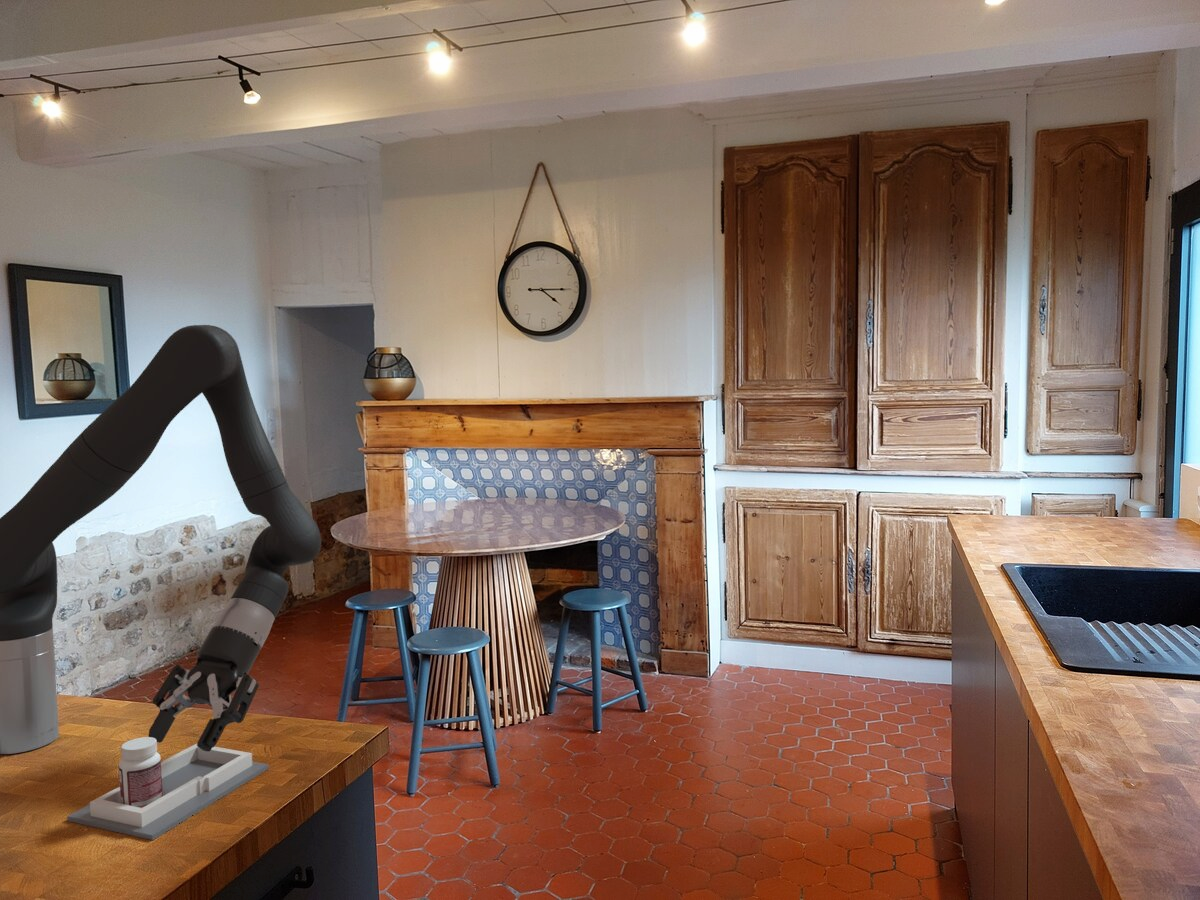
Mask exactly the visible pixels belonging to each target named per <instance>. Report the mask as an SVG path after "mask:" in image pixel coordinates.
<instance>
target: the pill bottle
mask: <svg viewBox="0 0 1200 900" xmlns="http://www.w3.org/2000/svg"><path fill="white" fill-rule="evenodd" d="M120 749H121V750H120V753H121V760H120V761H119V762H118V763H119V764H118V774H119V787H120V794H121V804H125V805H130V806H134V807H139V808H143V807H145V806H147V805H148V804H150V803H152V802H154V801H155V800H157V799H159V798H161V797H163V791H162V773H161V762H162V758H161V755H160V753H159V752H157V751H158V742H157V740H156V739H155V738H152V737H148V736H144V737H138V738H133V739H130V740H128V741H126V742H124V743H123V744H122V745H121V747H120Z"/></svg>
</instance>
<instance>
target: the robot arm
mask: <svg viewBox="0 0 1200 900" xmlns="http://www.w3.org/2000/svg"><path fill="white" fill-rule="evenodd" d="M241 356H242V355H241V353H240V348H239V345H238V343H237V342H236V339H234V337H233V336H232V334H230V333H229V332H228V331H226V330H224V329H223V328H221V327H218V326H216V325H211V324H194V325H187V326H184V327H181V328H179V329H178V330H176V331H175V332H173V333H172V334H171V335H170V336H169V337H168V338H167V339H166V340H165V342H164V343H163V344H162V345H161V346H160V348H159V350H157V352H156V353H155V355H154V356H153V358H152V359H151V361H149V363H148V365H147V366H146V367H145V369H143V371H142V372H141V374H140V375H139V376H138V377H137V379H136V380H135V381H134V382H133V384H131V386H129V388H127V389H126V391H124V392H123V393H122V394H121V395H120V396H119V397H118V398H116V400H114V401H113V402H111V404H109V406H108V407H107V408H106V409H105V410H104V411H102V412H101V414H99V415H98V416H97V417H96V418H95V419H94V420H93V421H92V422H91V423H90V424H88V425H87V427H86V428H84V430H82V431H81V433H80V434H79V435H78V436H77V437H76V438H75V439H74V440H73V441H72V442H71V443H70V444H69V445H68V446H67V448H66V449H65V450H64V451H63V452H62V453H61V454H60V456H59V457H57V459H56V460H55V461H54V462H53V463H52V465H50V466H49V467H48V469H47V470H46V471H45V472H44V473H43V474H42V475H41V476H40V477H39V478H38V480H36V482H35V483H34V484H33V485H32V487H31V488H30V489H28V491H27V493H26V494H25V495H23V497H22V498H21V499H20V500H19V501H18V502H17V503H16V504H15V505H14V506H13V507H12V508H11V509H9V510H8V511H7V512H6V513H4V514H3V515H2V516H1V517H0V755H11V754H18V753H19V754H20V753H24V752H25V753H26V752H29V751H33V750H36V749H39V748H42V747H44V746H47V745H49V744H50V743H53V742H54V741H56V739H58V737H59V736H60V727H59V726H60V725H59V708H58V706H59V705H58V692H57V691H58V690H57V689H58V688H57V678H56V677H57V675H56V673H57V672H56V659H55V658H56V657H55V645H54V644H55V643H54V640H55V639H54V627H53V626H54V625H53V618H54V613H55V612H56V608H57V604H58V564H57V563H58V561H57V554H56V548H55V545H54V543H53V542H55V540H56V539H57V538H58V537H59V536H60V535H61V534H62V533H63V532H65V531H66V530H67V529H69V528H70V527H71V526H73V525H74V524H75V523H77V522H78V521H79V520H81V519H83V518H84V517H85V516H87V515H88V514H90V513H91V512H93V511H95V509H96V508H98V507H99V506H101V505H103V504H104V503H105V502H107V500H109V499H111V498H112V497H113V496H114V495H115V494H116V493H117V492H118V491H120V490H121V489H122V488H123V487H124V486H125V484H126V483H127V482H128V481H129V480H131V478H132V477H133V476H135V474H136V473H137V472H138V471H139V470H140V469H141V468H142V466H143V465H144V464H145V463H146V461H148V460H149V458H150V456H151V455H152V454H153V452H154V450H155V449H156V447H157V446H158V443H159V442H160V440H161V438H162V437H163V435H164V433H165V432H166V429H167V428H168V426H170V424H171V423H172V421H173V420H174V419H175V418H176V417H177V416H178V415H179V414H180V413H181V412H182V411H183V410H184V409H185V408H186V407H188V405H190V403H191V402H193V401H194V400H195V399H196V398H197V397H199V396H200V395H201V394H203V397H204V398H205V399H206V402H207V404H208V405H209V407H210V409H211V412H212V414H213V416H214V419H215V421H216V423H217V427H218V431H219V435H220V439H221V444H222V448H223V449H222V450H223V453H224V457H225V460H226V461H225V462H226V464H227V467H228V470H229V473H230V476H231V477H232V480H233V482H234V485H235V487H236V489H237V491H238V493H239V496H240V497H241V499H242V503H243V504H244V506H245V507H246V509H247V511H248V512H249V513H251V514H252V515H255V516H261V517H263V518H264V519H265V520H266V521H267V522H268V524H269V526H267V527H265V528H264V529H263V530H262V531H261V532H260V533H259V534H258V536H257V537H256V538H255V541H254V542H253V544H252V546H251V550H250V553H249V555H248V559H247V561H246V566H245V569H244V574H243V577H242V579H241V580H240V582H239V583H238V585H237V587H236V588H235V589H234V592H233V593H232V596H231V597H230V599H229V601H228V603H227V604H226V605H225V606H224V607H223V608H222V610H221V612H220V613H219V615H218V617H217V618H216V620H215V622H214V623H213V625H212V627H211V629H210V630H209V632H208V634H207V636H206V637H205V639H204V641H203V643H202V644H201V646H200V648H199V649H198V651H197V653H196V655H197V656H196V657H197V661H196V664H195V665H194V666H193V667H192V668H191V669H185V668H184V667H182V666H181V665H180V664H176V665H175V666H174V667H173V668H172V669H171V671H170V672H169V674H168V675H167V677H166V678H165V680H164V682H163V683H162V684H161V687H160V688H159V690H158V691H157V692H156V694H155V696H154V698H153V699H152V704H154V705H155V706H156V707H158V708H159V712H158V714H157V715H156V718H155V719H154V721H153V723H152V725H151V726H150V728H149V730H148V735H147V737H152V738H155V739H156V740H157V743H162V742H163V741H164V739H165V738H166V736H167V733H168V732H169V731H170V729H171V727H172V725H173V723H174V722H175V720H176V716H178V714H180V713H181V712H182V711H184V710H185V709H189V708H192V707H193V706H195V705H197V704H198V705H208V706H211V707H212V717H213V719H212V718H210V719H209V720H208V722H207V724H206V726H205V728H204V729H203V732H202V733H201V735H200V737H199V739H198V741H197V742H196V744H197V746H198V747H199V748H200V749H202V750H203V751H208V752H209V751H210V750H211V749H212V748H213V747H216V745H217V743H218V742H219V739H220V738H221V736H222V734H223V732H224V730H225V728H226V726H229V725H230V724H233V723H236V724H240V723H243V721H244V719H245V717H246V715H247V713H248V710H249V708H250V706H251V704H252V702H253V700H254V697H255V696H256V694H257V690H258V688H259V686H260V684H259V682H257V680H256V679H254V678H253V677H252V676H251V675H250V674H249V672H250V671H251V669H252V667H253V665H254V663H255V661H256V659H257V658H258V655H259V654H260V652H261V649H262V648H263V646H264V644H265V642H266V640H267V638H268V637H269V634H270V632H271V629H272V627H273V624H274V621H275V620H276V617H277V615H278V614H279V612H280V610H281V608H282V606H283V604H284V602H285V600H286V599H287V596H288V594H289V589H290V588H289V583H288V582H287V580H286V579H285V578H284V575H285V572H286V571H287V570H288V568H289V567H292V566H298V565H303V564H307V563H310V562H312V561H313V560H315V559H316V557H317V556H318V555H319V553H320V551H321V547H322V536H321V532H320V529H319V527H318V525H317V523H316V521H315V519H314V518H313V517H312V515H311V514H310V513H309V511H308V510H307V509H306V508H305V506H304V505H303V504H302V502H301V501H300V499H299V498H298V497H297V496H296V495H295V494H294V493H293V491H292V490H291V488H290V486H289V484H288V481H287V479H286V477H285V475H284V472H283V470H282V467H281V466H280V463H279V461H278V459H277V457H276V453H275V452H274V449H273V448H272V446H271V443H270V440H269V438H268V436H267V434H266V432H265V429H264V427H263V425H262V422H261V419H260V417H259V414H258V412H257V409H256V405H255V403H254V400H253V397H252V394H251V391H250V387H249V384H248V380H247V376H246V372H245V369H244V364H243V360H242V357H241ZM186 693H187V695H185V694H186ZM233 693H234V695H233V697H232V694H233ZM167 694H168V695H167ZM166 695H167V696H166ZM165 697H166V698H165Z"/></svg>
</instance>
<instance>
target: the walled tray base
mask: <svg viewBox="0 0 1200 900" xmlns="http://www.w3.org/2000/svg"><path fill="white" fill-rule="evenodd" d="M269 766H270V764H267V763H264V762H257V761H253V753H252V752H247V751H242V750H235V749H232V748H231V749H230V748H224V747H218V746H214V747H213V748H212V749H211V750H210V751H209V752H208V751H203V750H202V749H200V748H199V747H198V746H197V743H195V744H193V745H191V746H189V747H187V748H185V749H183V750H182V751H179V752H178V753H176V754H174V755H172V756H170V757H167V758H166V759H164V760H161V773H162V791H163V797H161V798H159V799H157V800H155V801H154V802H152V803H150V804H148V805H147V806H145V807H143V808H139V807H134V806H130V805H125V804H121V794H120V786H118V787H116V788H114V789H112V790H110V791H108V792H107V793H105V794H103V795H101V796H99V797H97V798H96V799H93V800H91V801H89V804H87V805H86V806H84V807H82V808H80V809H78V810H76V811H74V812H73V813H70V814H69V815H66V817H67V821H68V822H71V823H76V824H81V825H84V826H88V827H93V828H98V829H100V830H101V829H102V830H106V831H111V832H115V833H120V834H122V835H123V834H124V835H127V836H133V837H138V838H141V839H146V840H149V841H154V840H156V839H157V838H159V837H160V836H162V835H164V834H165V833H167V832H168V830H169V831H171V830H172V829H173V828H176V827H177V826H178V825H180V824H182V823H183V822H185V821H186V820H188V819H189V817H190V818H192V817H193V816H194V815H196V814H198V813H200V812H201V811H202V810H204V809H206V808H207V807H209V806H211V805H213V804H214V803H215V802H217V801H218V799H219V800H220V799H222V798H224V797H225V796H227V795H228V794H230V793H232V792H234V791H235V790H237V789H238V788H241V786H243V785H244V784H246V783H248V782H249V781H251V780H253V779H254V778H257V777H258V776H259V775H261V774H262V773H265V771H268V770H269V769H270V767H269ZM223 796H224V797H223ZM192 815H193V816H192ZM181 822H182V823H181ZM179 823H180V824H179ZM176 825H177V826H176ZM166 831H167V832H166ZM163 833H164V834H163ZM155 838H156V839H155Z"/></svg>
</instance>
